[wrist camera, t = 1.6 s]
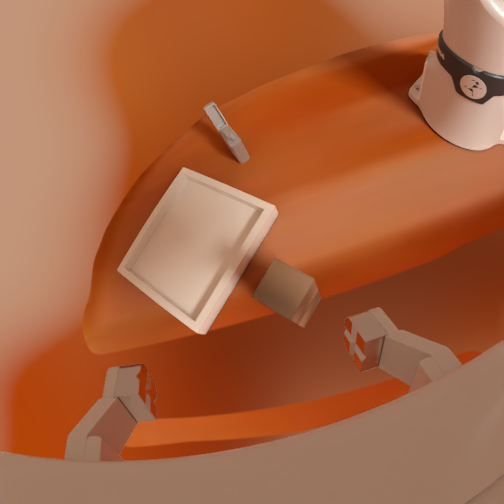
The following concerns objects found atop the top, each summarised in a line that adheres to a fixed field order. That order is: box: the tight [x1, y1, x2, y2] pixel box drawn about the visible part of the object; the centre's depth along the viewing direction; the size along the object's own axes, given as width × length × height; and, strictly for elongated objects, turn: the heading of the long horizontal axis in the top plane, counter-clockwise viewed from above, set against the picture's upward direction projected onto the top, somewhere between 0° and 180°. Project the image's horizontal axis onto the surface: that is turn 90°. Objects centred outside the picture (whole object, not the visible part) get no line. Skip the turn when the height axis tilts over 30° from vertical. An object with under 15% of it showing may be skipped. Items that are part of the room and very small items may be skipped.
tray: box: [117, 167, 279, 334], centre depth 41 cm, size 18×16×2 cm
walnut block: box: [252, 258, 321, 328], centre depth 31 cm, size 4×4×10 cm
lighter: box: [203, 102, 250, 164], centre depth 42 cm, size 7×2×8 cm, turn 30°
